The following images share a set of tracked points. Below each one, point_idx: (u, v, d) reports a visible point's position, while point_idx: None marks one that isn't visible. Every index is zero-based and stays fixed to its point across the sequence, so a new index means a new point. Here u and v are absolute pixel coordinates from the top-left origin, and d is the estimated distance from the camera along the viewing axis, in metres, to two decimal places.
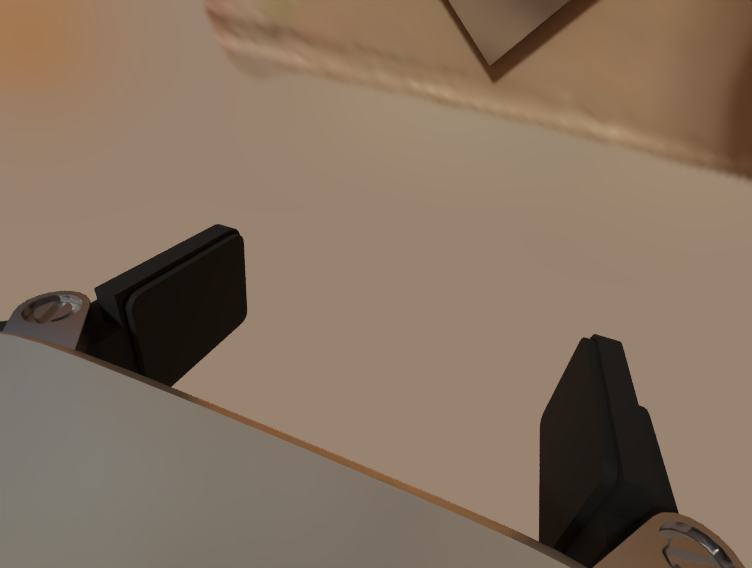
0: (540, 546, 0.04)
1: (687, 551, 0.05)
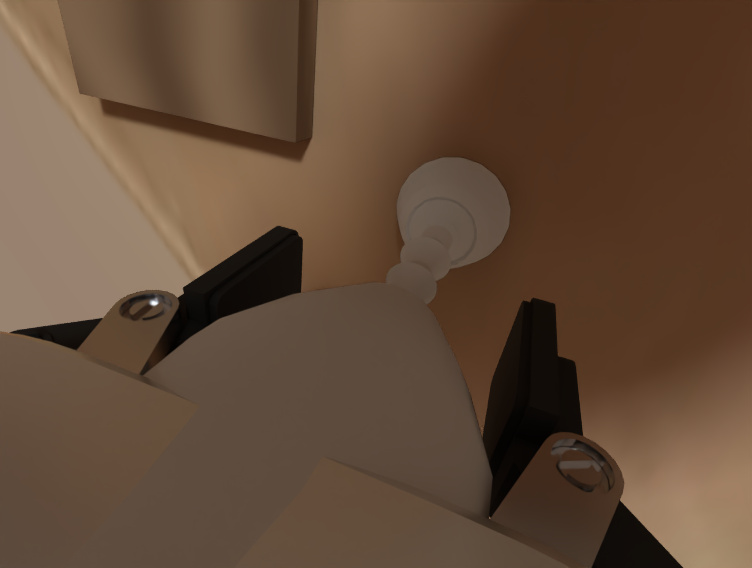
0: (540, 546, 0.04)
1: (574, 461, 0.06)
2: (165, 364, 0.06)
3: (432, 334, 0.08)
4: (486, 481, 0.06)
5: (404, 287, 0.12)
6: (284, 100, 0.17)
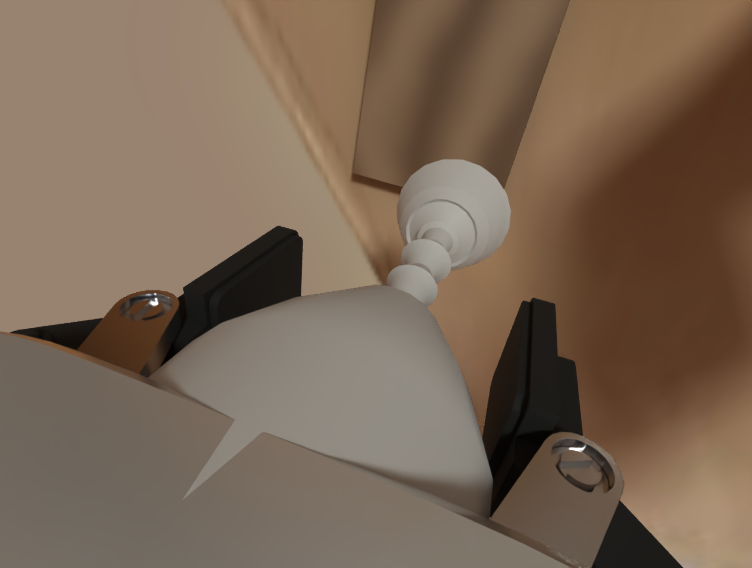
0: (540, 546, 0.04)
1: (574, 461, 0.06)
2: (168, 368, 0.06)
3: (433, 338, 0.08)
4: (486, 485, 0.06)
5: (405, 289, 0.12)
6: None
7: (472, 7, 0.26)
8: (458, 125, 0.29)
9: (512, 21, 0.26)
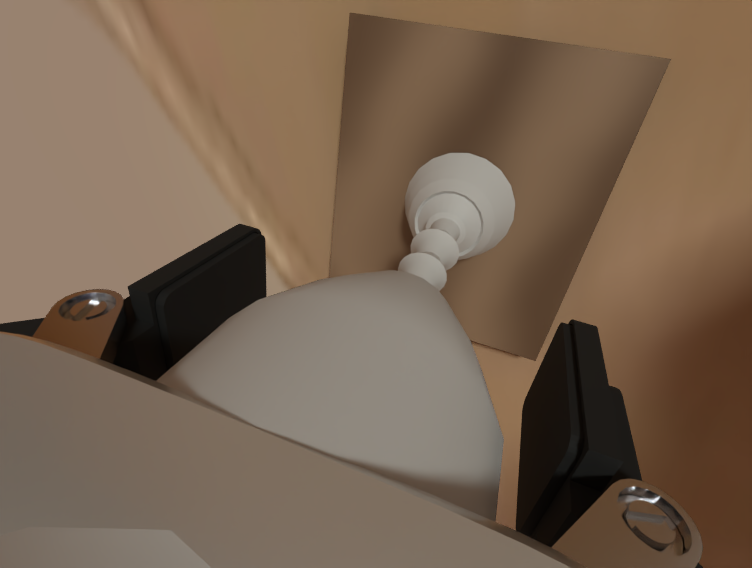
0: (540, 546, 0.04)
1: (643, 513, 0.06)
2: (215, 338, 0.06)
3: (447, 315, 0.08)
4: (498, 441, 0.07)
5: (416, 276, 0.12)
6: (534, 334, 0.21)
7: (496, 80, 0.16)
8: None
9: (564, 101, 0.16)
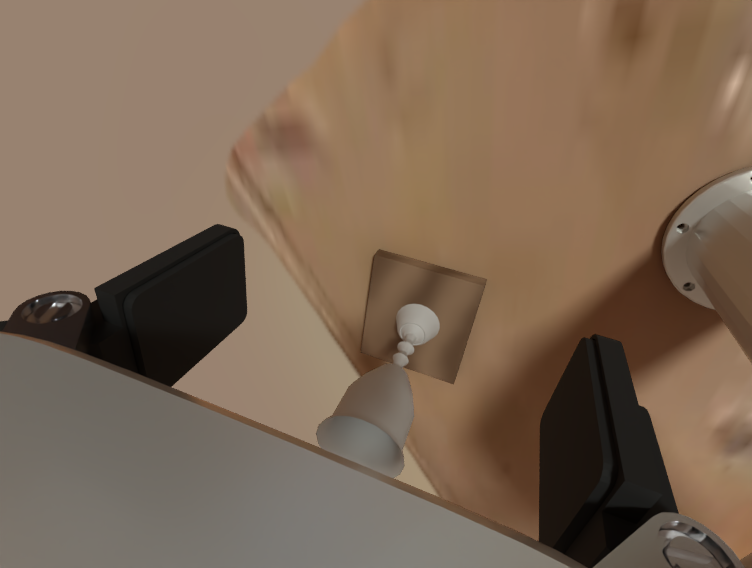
0: (540, 546, 0.04)
1: (687, 551, 0.05)
2: (356, 388, 0.34)
3: (403, 380, 0.36)
4: (411, 408, 0.34)
5: (398, 362, 0.40)
6: (452, 373, 0.48)
7: (429, 283, 0.43)
8: None
9: (453, 293, 0.43)
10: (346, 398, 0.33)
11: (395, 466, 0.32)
